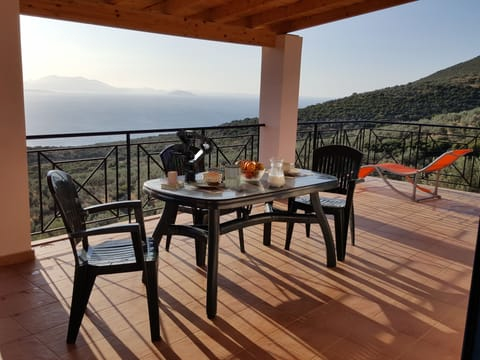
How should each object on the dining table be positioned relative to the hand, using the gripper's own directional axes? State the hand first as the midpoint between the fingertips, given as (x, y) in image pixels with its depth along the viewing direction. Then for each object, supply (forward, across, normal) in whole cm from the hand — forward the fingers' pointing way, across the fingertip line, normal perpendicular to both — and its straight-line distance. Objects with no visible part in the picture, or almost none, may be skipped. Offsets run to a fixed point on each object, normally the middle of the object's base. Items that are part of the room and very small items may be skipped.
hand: (176, 165), depth 286 cm
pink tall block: (+14, 0, +5) cm, 15 cm away
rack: (+14, 0, +5) cm, 15 cm away
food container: (-6, +17, +27) cm, 33 cm away
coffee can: (-1, +31, +23) cm, 39 cm away
